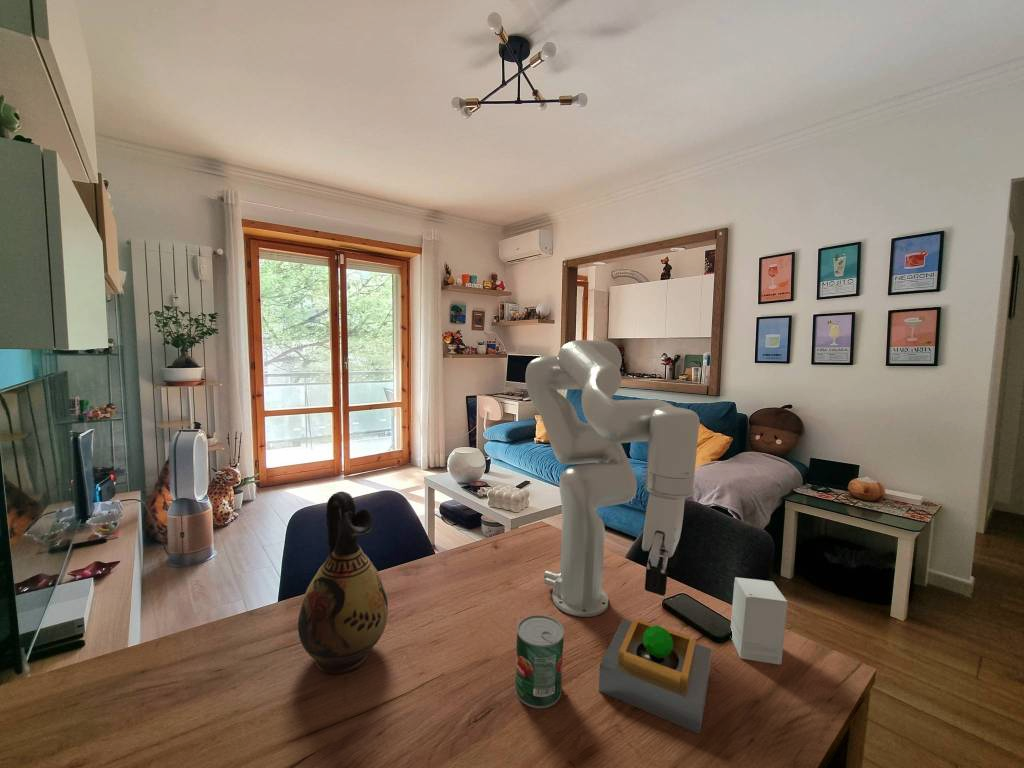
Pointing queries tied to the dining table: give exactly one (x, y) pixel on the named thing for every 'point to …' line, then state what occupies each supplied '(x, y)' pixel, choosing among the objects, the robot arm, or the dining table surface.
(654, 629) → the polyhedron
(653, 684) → the grey yellow socket base
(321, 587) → the ceramic jug
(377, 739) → the dining table surface
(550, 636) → the canned tomato
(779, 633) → the supplement box
